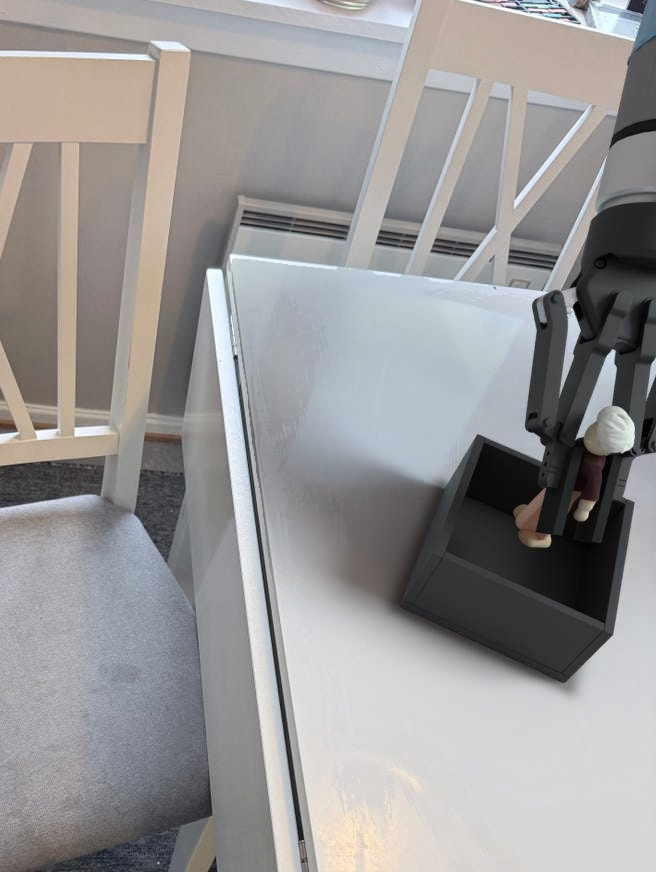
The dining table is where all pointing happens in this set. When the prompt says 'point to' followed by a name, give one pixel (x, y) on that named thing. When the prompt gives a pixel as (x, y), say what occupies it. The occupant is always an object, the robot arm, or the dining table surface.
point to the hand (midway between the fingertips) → (567, 537)
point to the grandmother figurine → (582, 471)
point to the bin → (517, 568)
